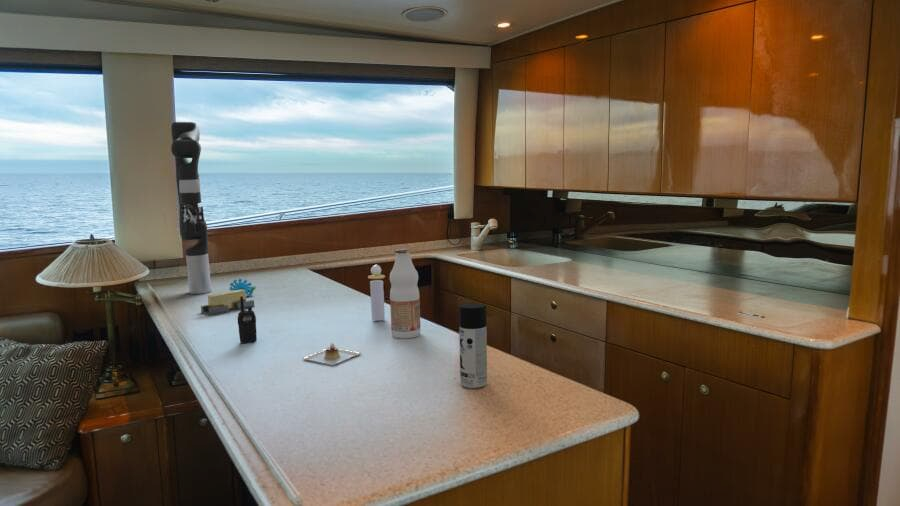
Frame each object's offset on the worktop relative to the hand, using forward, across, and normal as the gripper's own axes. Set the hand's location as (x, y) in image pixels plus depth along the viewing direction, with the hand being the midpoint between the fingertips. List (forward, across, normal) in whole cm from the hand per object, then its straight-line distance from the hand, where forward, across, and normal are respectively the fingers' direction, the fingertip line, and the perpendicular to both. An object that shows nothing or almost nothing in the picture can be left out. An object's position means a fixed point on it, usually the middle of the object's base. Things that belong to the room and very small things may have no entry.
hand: (193, 232), depth 238 cm
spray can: (+30, +143, -1) cm, 146 cm away
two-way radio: (+30, +62, -15) cm, 71 cm away
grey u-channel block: (+30, +15, +4) cm, 34 cm away
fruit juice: (+30, +98, +20) cm, 105 cm away
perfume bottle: (+30, +77, +27) cm, 87 cm away
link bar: (+30, +15, +4) cm, 33 cm away
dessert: (+31, +97, -9) cm, 102 cm away
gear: (+30, -2, +20) cm, 37 cm away
